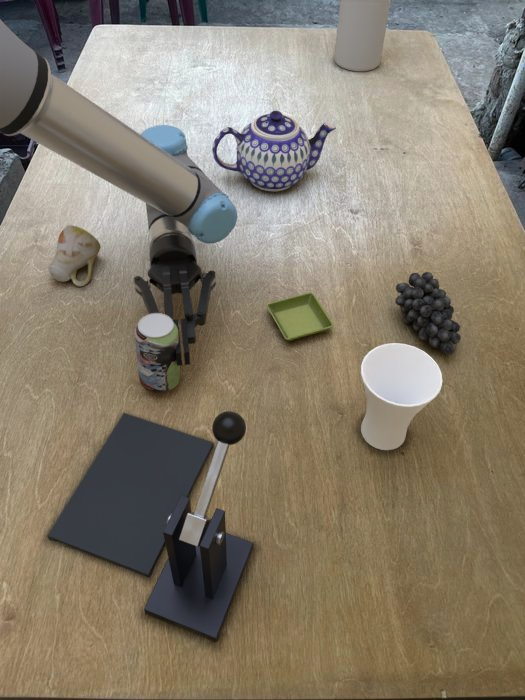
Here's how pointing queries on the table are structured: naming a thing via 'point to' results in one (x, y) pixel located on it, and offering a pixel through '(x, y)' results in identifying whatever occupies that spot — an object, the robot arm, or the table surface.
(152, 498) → the slate mat
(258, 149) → the teapot
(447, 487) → the table surface
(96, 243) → the mug
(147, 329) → the beverage can
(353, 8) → the cylinder vase
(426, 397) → the cup
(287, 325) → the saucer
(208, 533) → the bracket
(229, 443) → the tap lever
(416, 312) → the fruit
